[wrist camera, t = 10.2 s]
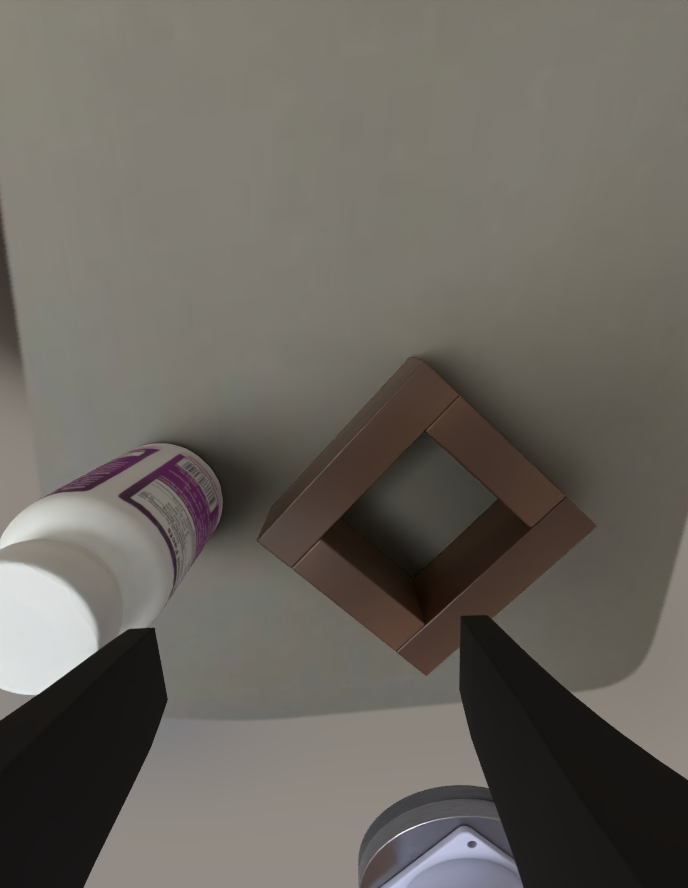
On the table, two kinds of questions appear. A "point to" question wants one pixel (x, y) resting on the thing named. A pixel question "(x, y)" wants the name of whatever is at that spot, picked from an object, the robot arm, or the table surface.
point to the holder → (463, 562)
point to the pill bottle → (99, 559)
